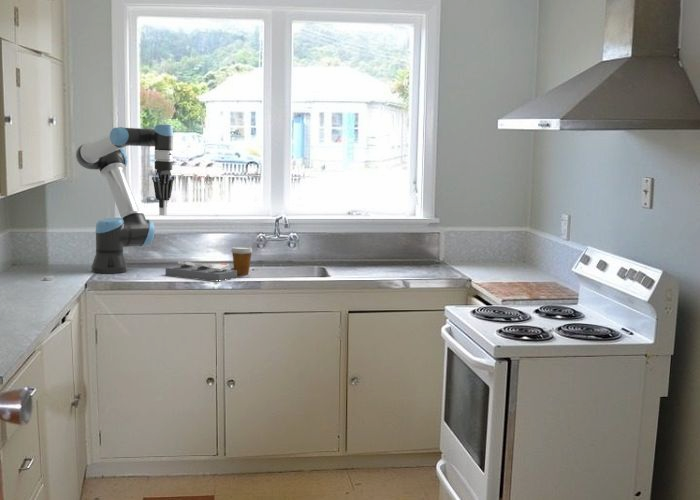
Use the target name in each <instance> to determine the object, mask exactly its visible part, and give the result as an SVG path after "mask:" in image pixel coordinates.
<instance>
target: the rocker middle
mask: <svg viewBox="0 0 700 500" xmlns="http://www.w3.org/2000/svg"><path fill="white" fill-rule="evenodd" d="M194 263H195V266H201V267H207V268H212V267H213V265H212V264H208V263H203V262H194Z"/></svg>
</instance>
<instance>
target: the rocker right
mask: <svg viewBox="0 0 700 500" xmlns="http://www.w3.org/2000/svg"><path fill="white" fill-rule="evenodd" d="M229 267H230V263H227V262H220V263H218V264H216V265H214V266H212V271H222V270H224V269H228V268H229Z"/></svg>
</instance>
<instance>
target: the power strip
mask: <svg viewBox="0 0 700 500" xmlns="http://www.w3.org/2000/svg"><path fill="white" fill-rule="evenodd" d="M164 272H165V273H164V274H165V276H170V277H176V276H179V277H178V278H185V277H189V278H188V279H193V278H198V279H197V280H202V279H205V280H204V281H210V280H218V281H217V282H220V281H219V280H224V281H226V280H225V279H228V280H232V279H231V278H233V279H236V278H238V275H237V270H234V269H230V268H229V269H228V268H226V269H224V270H222V271H212V268H207V267H201V266H196V265H195V266H191V265H184V264H179V265H175V266H169V267H165V271H164Z"/></svg>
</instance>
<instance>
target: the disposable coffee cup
mask: <svg viewBox="0 0 700 500" xmlns="http://www.w3.org/2000/svg"><path fill="white" fill-rule="evenodd" d="M230 251H231V253H232V254H231V255H232V262H233V263H232V264H233V270H237V276H248V275H249V271H250V265H251V260H252V259H251V258H252V254H253V249H252V247H250V246H232V248H231V250H230Z"/></svg>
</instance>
